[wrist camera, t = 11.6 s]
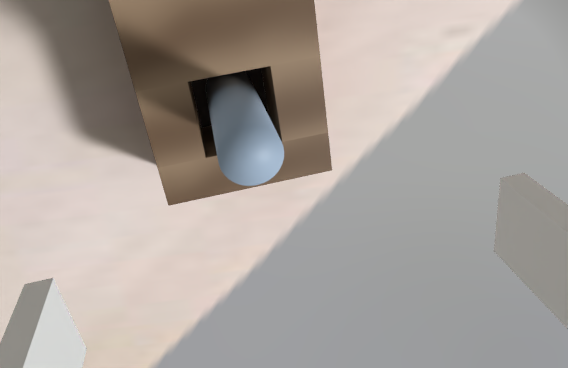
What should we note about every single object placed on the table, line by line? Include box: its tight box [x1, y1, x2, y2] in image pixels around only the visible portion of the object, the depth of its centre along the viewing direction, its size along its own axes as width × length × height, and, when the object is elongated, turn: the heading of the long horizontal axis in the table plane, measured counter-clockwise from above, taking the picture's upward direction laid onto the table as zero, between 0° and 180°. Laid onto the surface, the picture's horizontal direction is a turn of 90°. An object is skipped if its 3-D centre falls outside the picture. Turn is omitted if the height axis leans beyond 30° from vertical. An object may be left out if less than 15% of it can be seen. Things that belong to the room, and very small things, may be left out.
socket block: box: [109, 0, 332, 205], centre depth 29 cm, size 13×10×5 cm
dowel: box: [205, 71, 284, 186], centre depth 27 cm, size 3×3×11 cm
